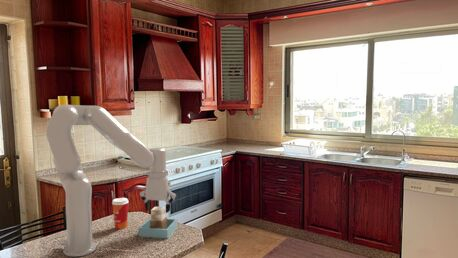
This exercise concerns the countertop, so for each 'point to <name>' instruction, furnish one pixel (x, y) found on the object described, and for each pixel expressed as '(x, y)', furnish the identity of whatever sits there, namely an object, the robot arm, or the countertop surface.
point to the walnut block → (159, 224)
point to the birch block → (157, 213)
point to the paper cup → (120, 212)
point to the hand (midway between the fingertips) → (157, 211)
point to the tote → (157, 233)
